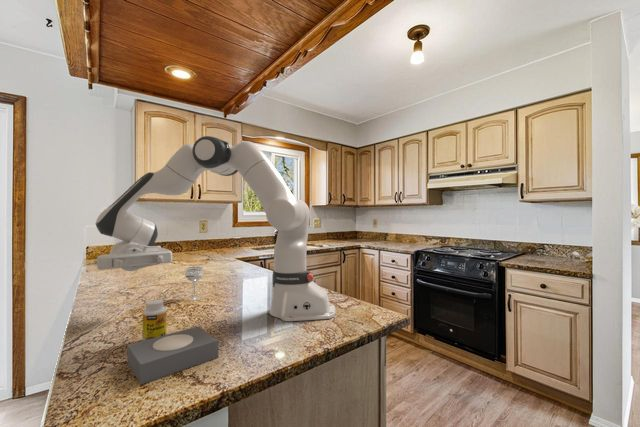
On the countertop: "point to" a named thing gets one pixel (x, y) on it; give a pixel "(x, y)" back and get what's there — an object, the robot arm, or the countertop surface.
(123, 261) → the robot arm
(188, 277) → the wineglass
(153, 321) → the supplement bottle
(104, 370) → the countertop surface
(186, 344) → the block
